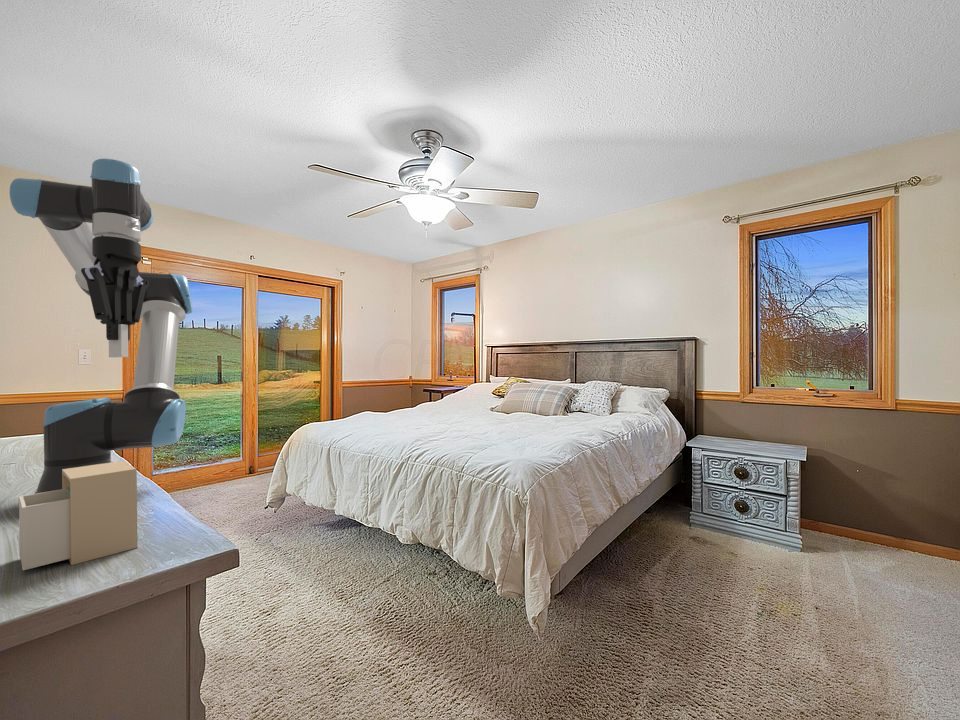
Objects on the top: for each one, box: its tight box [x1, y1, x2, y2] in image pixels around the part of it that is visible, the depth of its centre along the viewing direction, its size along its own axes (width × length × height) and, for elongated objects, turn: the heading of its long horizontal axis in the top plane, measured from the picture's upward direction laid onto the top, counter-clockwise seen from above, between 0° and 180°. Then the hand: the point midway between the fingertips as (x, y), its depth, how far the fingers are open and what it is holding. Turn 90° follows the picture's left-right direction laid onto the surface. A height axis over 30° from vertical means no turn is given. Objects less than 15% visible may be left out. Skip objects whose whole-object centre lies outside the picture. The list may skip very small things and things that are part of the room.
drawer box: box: [18, 488, 71, 571], centre depth 69 cm, size 10×9×9 cm
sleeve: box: [62, 460, 138, 566], centre depth 72 cm, size 8×11×13 cm
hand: (118, 357), depth 86 cm, fingers closed
